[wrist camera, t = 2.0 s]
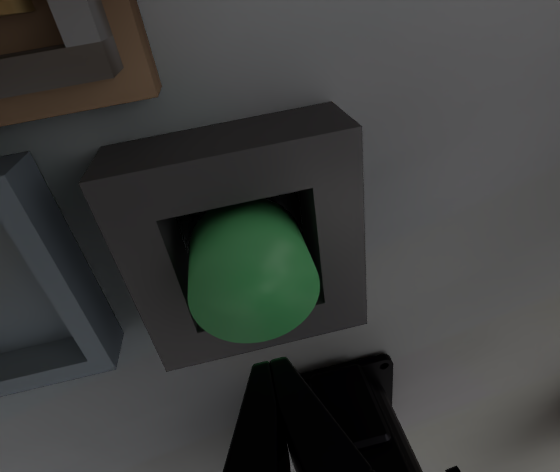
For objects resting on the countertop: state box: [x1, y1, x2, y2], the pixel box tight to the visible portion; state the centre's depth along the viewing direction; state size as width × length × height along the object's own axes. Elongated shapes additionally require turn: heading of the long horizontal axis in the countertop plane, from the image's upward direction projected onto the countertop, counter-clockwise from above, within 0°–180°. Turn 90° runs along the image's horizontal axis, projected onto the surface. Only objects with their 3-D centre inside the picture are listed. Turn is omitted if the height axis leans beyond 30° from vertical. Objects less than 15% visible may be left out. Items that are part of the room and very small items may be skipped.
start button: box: [188, 199, 320, 343], centre depth 13 cm, size 4×4×3 cm
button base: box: [78, 102, 367, 372], centre depth 14 cm, size 8×8×3 cm
